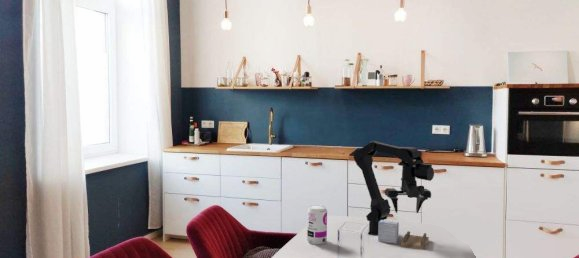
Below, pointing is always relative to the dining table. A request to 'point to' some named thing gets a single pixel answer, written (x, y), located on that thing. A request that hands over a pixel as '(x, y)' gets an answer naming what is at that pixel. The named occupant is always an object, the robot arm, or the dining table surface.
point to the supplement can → (317, 225)
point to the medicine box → (388, 231)
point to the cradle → (415, 241)
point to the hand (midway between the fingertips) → (406, 212)
